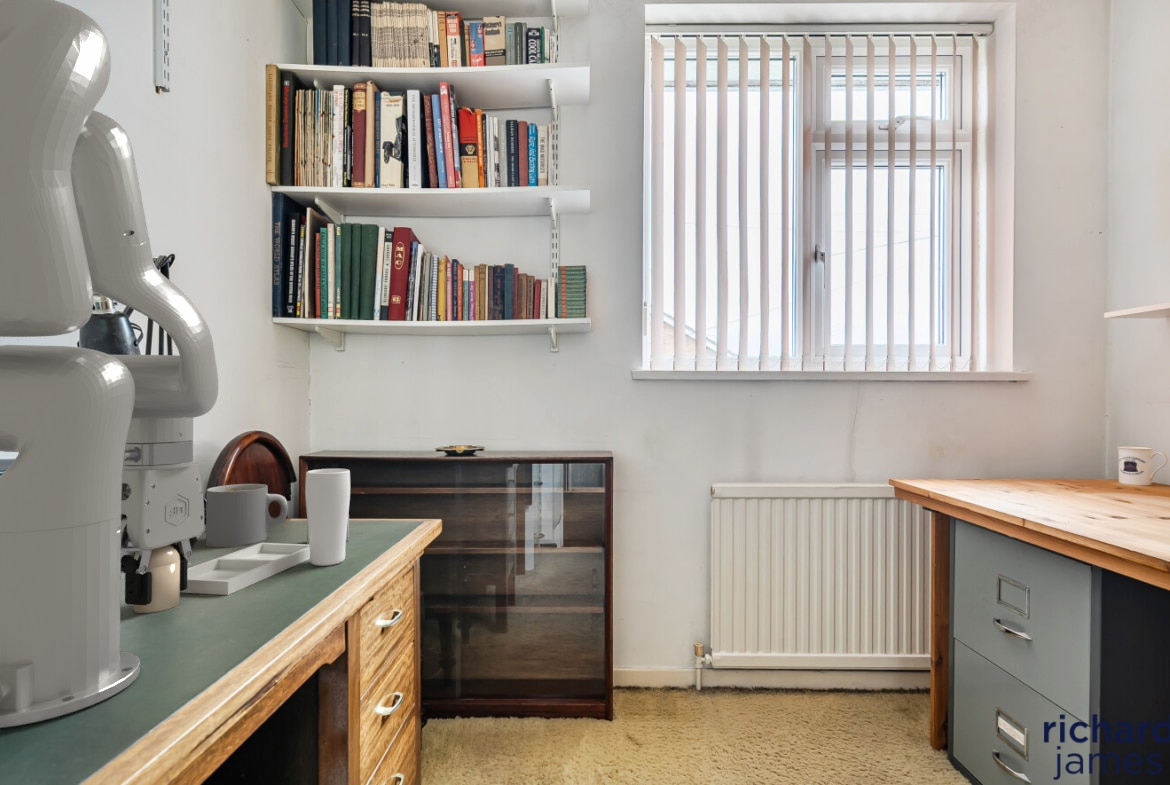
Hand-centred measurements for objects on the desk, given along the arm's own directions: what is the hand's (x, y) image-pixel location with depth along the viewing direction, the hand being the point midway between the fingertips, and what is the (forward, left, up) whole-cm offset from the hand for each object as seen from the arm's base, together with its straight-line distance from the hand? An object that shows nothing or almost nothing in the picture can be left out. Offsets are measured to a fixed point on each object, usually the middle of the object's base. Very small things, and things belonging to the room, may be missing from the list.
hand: (157, 595), depth 76 cm
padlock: (+35, -2, -2) cm, 35 cm away
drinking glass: (+22, -10, -2) cm, 24 cm away
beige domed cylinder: (0, 0, -1) cm, 1 cm away
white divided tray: (+15, -1, -1) cm, 15 cm away
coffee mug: (+34, +14, -2) cm, 37 cm away
